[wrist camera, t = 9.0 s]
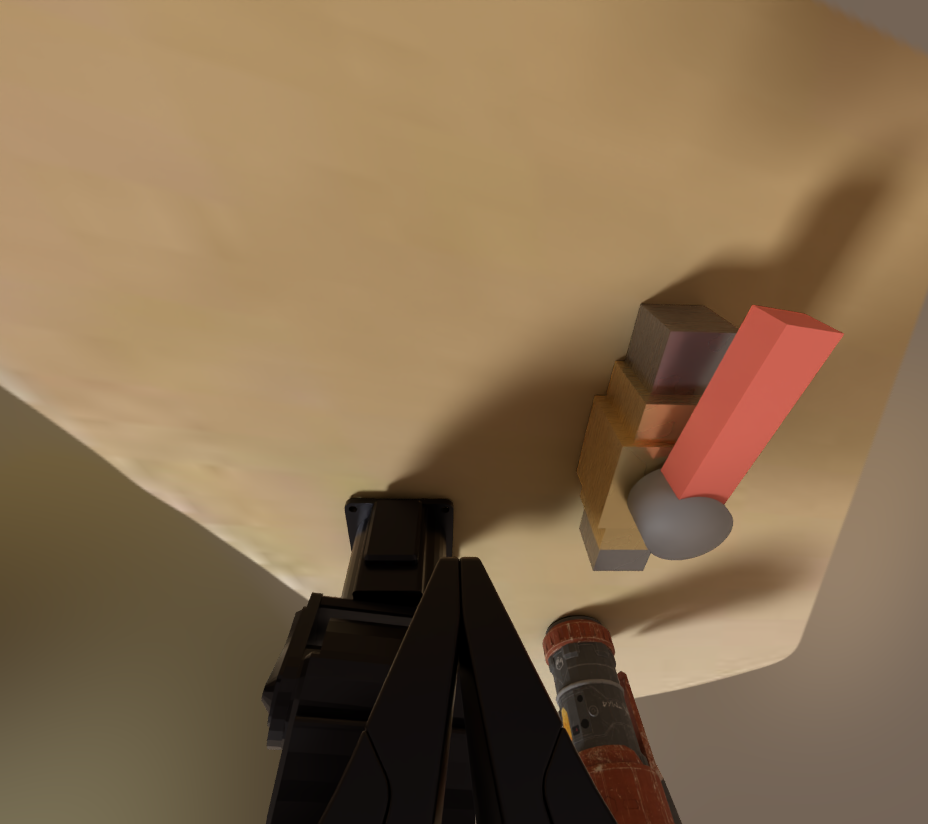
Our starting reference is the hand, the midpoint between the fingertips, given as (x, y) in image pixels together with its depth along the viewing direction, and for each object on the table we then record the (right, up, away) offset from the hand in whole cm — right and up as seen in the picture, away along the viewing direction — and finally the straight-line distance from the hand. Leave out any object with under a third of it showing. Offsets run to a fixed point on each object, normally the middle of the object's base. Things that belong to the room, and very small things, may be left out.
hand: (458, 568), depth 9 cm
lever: (+10, +2, +9) cm, 14 cm away
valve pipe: (+9, +2, +15) cm, 17 cm away
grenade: (+10, -15, +26) cm, 31 cm away
